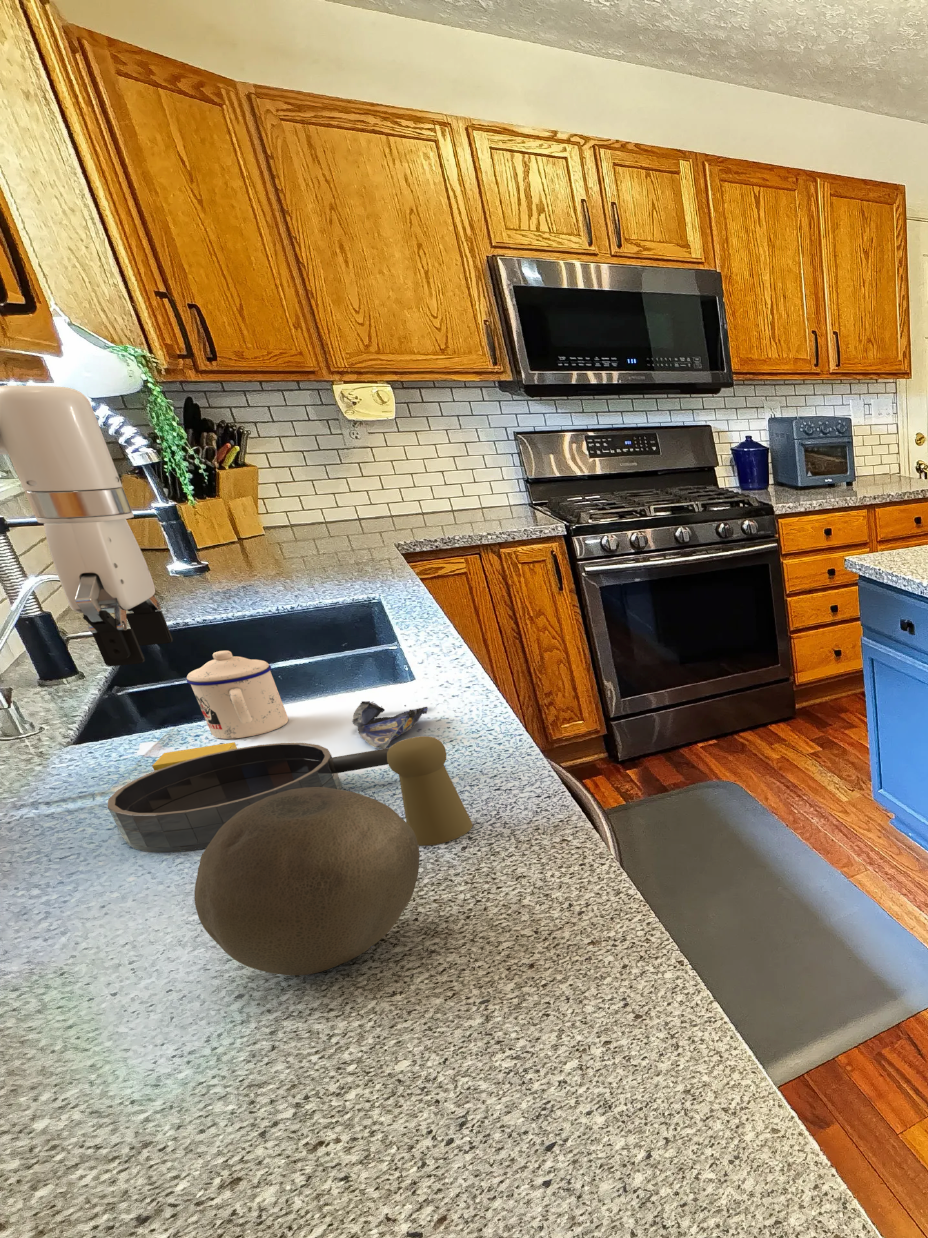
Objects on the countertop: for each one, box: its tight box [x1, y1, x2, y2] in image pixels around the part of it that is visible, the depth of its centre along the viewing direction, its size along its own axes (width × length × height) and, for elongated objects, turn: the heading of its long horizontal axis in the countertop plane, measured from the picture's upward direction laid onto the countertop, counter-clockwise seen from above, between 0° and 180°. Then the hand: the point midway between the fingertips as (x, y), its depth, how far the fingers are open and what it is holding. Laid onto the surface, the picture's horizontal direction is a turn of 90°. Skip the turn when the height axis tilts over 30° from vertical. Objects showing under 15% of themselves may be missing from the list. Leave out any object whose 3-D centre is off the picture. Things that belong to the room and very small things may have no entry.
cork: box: [387, 735, 474, 847], centre depth 87 cm, size 6×6×11 cm
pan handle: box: [329, 747, 390, 774], centre depth 99 cm, size 12×2×2 cm, turn 119°
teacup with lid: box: [186, 650, 289, 740], centre depth 115 cm, size 12×9×12 cm
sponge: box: [151, 741, 238, 772], centre depth 103 cm, size 7×4×3 cm, turn 119°
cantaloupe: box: [193, 787, 420, 976], centre depth 67 cm, size 14×14×15 cm
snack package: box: [351, 700, 428, 749], centre depth 115 cm, size 12×6×12 cm
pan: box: [107, 742, 343, 853], centre depth 93 cm, size 19×19×4 cm
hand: (141, 653), depth 96 cm, fingers open, 9 cm apart
